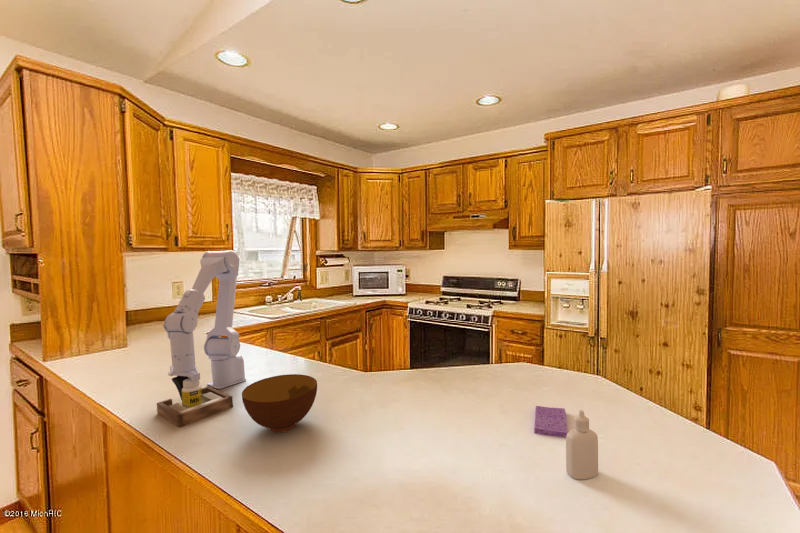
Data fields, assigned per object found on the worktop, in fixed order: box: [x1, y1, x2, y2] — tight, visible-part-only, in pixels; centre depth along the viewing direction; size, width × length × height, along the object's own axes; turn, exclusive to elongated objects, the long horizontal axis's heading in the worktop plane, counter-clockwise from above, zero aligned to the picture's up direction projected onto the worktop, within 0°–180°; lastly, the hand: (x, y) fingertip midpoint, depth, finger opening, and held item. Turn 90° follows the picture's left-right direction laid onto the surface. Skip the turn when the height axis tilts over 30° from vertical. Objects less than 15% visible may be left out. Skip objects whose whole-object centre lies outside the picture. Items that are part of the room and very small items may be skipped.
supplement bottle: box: [181, 378, 202, 408], centre depth 103 cm, size 5×5×8 cm
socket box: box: [156, 385, 234, 428], centre depth 103 cm, size 14×14×3 cm
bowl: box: [241, 373, 318, 433], centre depth 92 cm, size 18×18×10 cm
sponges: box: [533, 405, 569, 439], centre depth 88 cm, size 7×13×2 cm, turn 158°
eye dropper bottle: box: [565, 409, 599, 480], centre depth 68 cm, size 4×6×12 cm
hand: (186, 400), depth 106 cm, fingers closed
